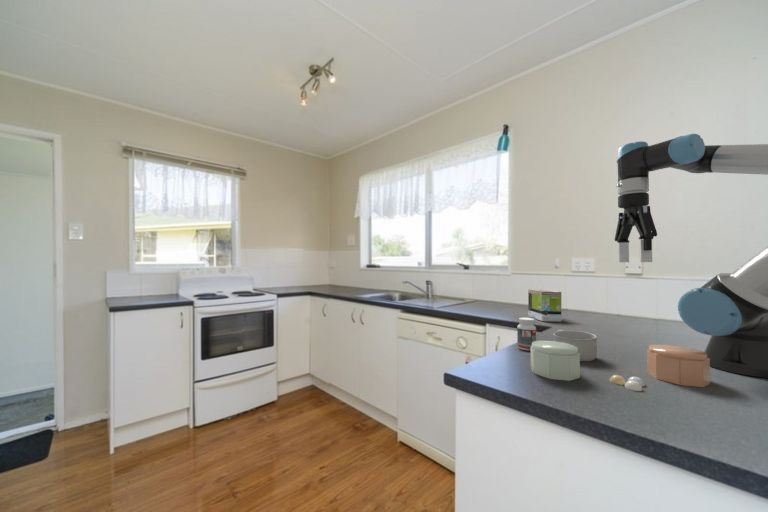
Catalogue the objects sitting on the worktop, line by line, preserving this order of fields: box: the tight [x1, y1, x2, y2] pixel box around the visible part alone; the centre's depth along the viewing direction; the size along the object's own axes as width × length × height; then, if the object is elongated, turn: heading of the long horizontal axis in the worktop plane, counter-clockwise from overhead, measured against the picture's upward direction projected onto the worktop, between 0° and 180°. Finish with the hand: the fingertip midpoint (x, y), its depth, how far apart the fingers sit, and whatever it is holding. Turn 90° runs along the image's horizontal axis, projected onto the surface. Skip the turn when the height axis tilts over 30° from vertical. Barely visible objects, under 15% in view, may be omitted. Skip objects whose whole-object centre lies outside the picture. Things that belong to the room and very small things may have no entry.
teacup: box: [552, 329, 598, 362], centre depth 91 cm, size 14×11×8 cm
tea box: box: [527, 288, 563, 323], centre depth 158 cm, size 15×10×15 cm
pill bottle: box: [516, 317, 537, 352], centre depth 103 cm, size 6×6×10 cm
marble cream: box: [624, 380, 643, 392], centre depth 67 cm, size 3×3×3 cm
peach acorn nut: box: [646, 343, 711, 388], centre depth 73 cm, size 10×10×8 cm
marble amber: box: [609, 374, 627, 386], centre depth 70 cm, size 3×3×3 cm
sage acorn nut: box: [530, 340, 581, 382], centre depth 77 cm, size 10×10×8 cm
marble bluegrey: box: [626, 376, 645, 388], centre depth 69 cm, size 3×3×3 cm
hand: (634, 262), depth 96 cm, fingers open, 13 cm apart
